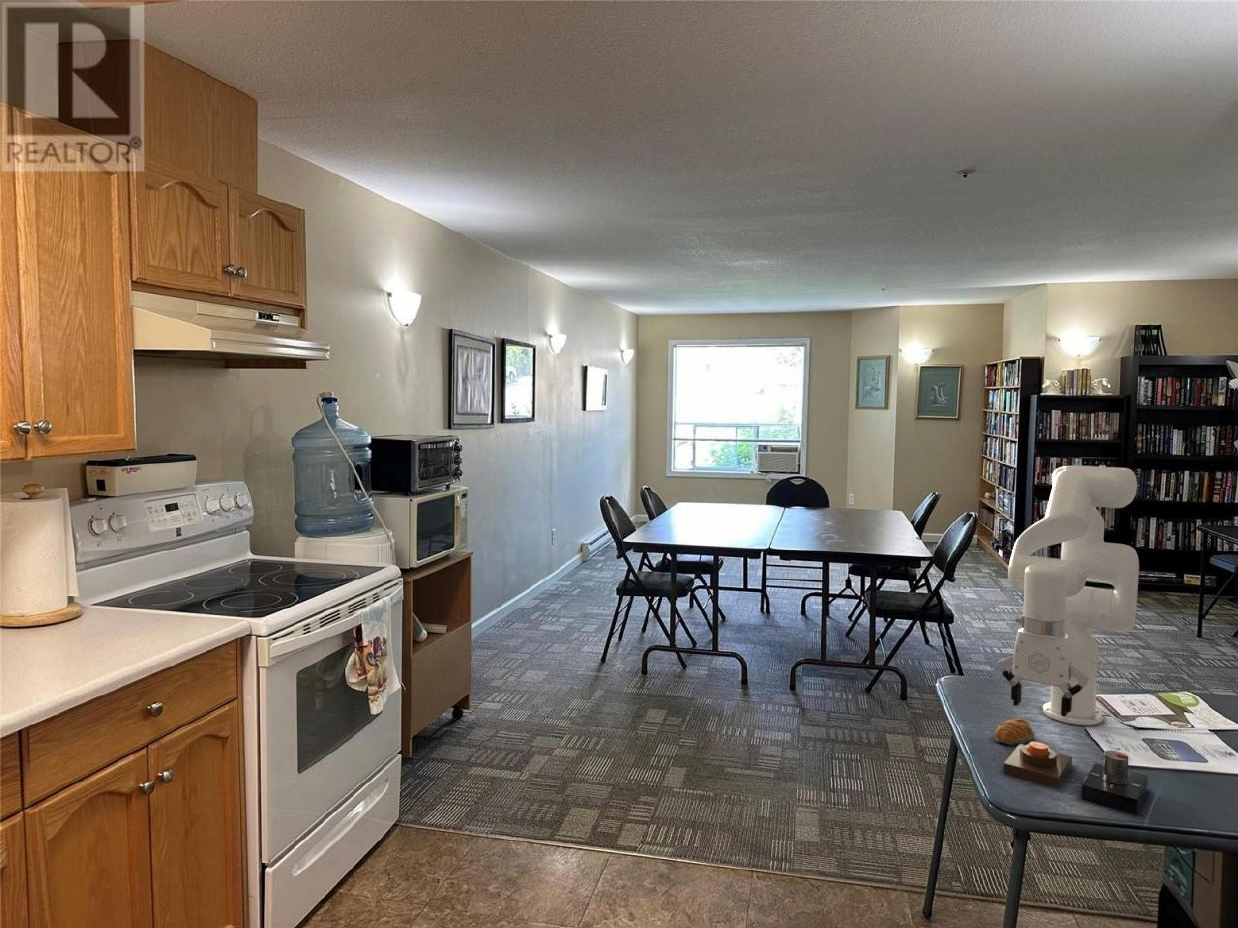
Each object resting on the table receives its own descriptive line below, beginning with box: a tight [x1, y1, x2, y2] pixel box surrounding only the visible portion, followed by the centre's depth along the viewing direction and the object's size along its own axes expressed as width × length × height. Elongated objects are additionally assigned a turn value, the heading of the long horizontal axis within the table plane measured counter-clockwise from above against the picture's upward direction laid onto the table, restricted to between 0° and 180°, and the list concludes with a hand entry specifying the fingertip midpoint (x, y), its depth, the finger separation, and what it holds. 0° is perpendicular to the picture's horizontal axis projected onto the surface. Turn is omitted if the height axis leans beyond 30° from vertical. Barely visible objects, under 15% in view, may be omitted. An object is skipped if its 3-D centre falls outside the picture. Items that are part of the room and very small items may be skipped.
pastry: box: [994, 718, 1036, 746], centre depth 182 cm, size 9×7×4 cm
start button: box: [1028, 741, 1050, 756], centre depth 167 cm, size 4×4×2 cm
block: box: [1003, 743, 1073, 789], centre depth 168 cm, size 12×10×4 cm
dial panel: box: [1081, 762, 1149, 816], centre depth 157 cm, size 12×9×3 cm
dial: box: [1103, 750, 1130, 785], centre depth 157 cm, size 4×4×5 cm
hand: (1040, 708), depth 167 cm, fingers open, 8 cm apart
